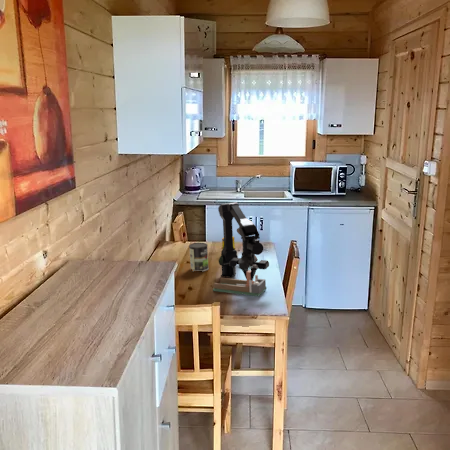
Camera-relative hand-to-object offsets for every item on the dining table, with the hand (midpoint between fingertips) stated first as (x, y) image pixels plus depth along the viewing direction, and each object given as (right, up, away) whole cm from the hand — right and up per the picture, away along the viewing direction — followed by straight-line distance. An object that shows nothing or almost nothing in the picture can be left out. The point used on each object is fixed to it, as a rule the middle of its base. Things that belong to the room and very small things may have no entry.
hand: (249, 280), depth 238 cm
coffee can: (-26, +2, +38) cm, 46 cm away
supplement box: (-10, +9, +62) cm, 63 cm away
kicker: (-3, -4, +2) cm, 5 cm away
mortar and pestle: (+2, +6, +49) cm, 49 cm away
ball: (+3, -3, -1) cm, 4 cm away
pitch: (-5, -5, +4) cm, 8 cm away
